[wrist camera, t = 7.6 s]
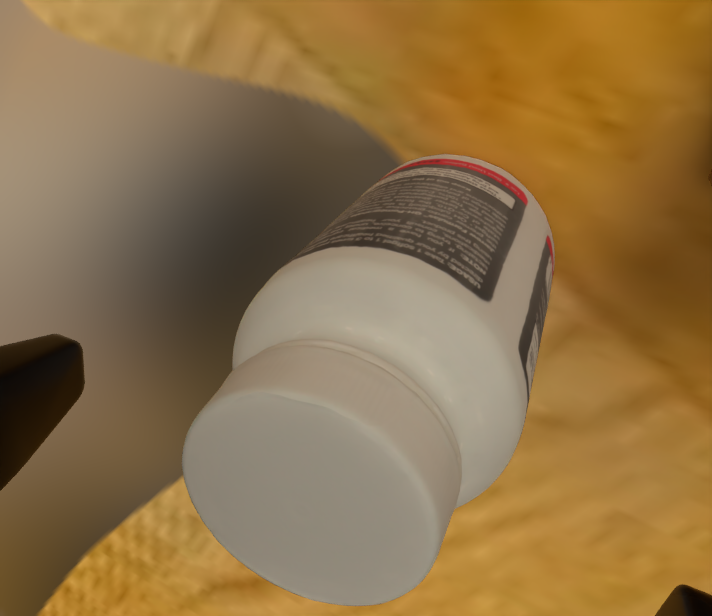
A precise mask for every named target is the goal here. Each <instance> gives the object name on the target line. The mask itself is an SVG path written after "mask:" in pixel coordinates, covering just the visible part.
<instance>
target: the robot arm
mask: <svg viewBox="0 0 712 616" xmlns="http://www.w3.org/2000/svg"><path fill="white" fill-rule="evenodd" d="M84 384H85V378H84V363H83V349H82V347H81V345H80V343H78V342H77V341H75V340H72V339H70V338H67V337H65V336H62V335H59V334H51V335H47V336H42V337H38V338H34V339H30V340H26V341H21V342H17V343H12V344H8V345H4V346H0V491H1V490H2V489H3V488H4V487H5V486H6V485H7V484H8V482H9V481H10V480H11V479H12V478H13V477H14V476H15V475H16V474H17V473H18V472H19V471H20V469H21V468H22V467H23V466H24V465H25V464H26V463H27V461H28V460H29V459H30V458H31V456H32V455H33V454H34V453H35V451H36V450H37V449H38V448H39V447H40V445H41V444H42V443H43V442H44V441H45V439H46V438H47V437H48V436H49V434H50V433H51V432H52V431H53V430H54V428H55V427H56V426H57V425H58V423H59V422H60V421H61V420H62V418H63V417H64V416H65V415H66V414H67V412H68V411H69V410H70V409H71V407H72V406H73V405H74V403H75V402H76V401H77V400H78V399H79V397H80V395H81V394H82V392H83V389H84ZM655 616H712V595H710V594H708V593H705V592H703V591H700V590H698V589H695V588H693V587H690V586H688V585H679V586H677V587H676V588H675V589H674V590H673V591H672V592H671V594H670V595H669V597H668V598H667V599H666V601H665V602H664V604H663V605H662V606H661V608H660V609H659V611H658V612H657V613H656V615H655Z"/></svg>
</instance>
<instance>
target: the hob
mask: <svg viewBox="0 0 712 616" xmlns="http://www.w3.org/2000/svg"><path fill="white" fill-rule="evenodd" d="M709 181H710V183H711V186H712V170H711V172H710V174H709Z"/></svg>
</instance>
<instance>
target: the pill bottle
mask: <svg viewBox="0 0 712 616" xmlns="http://www.w3.org/2000/svg"><path fill="white" fill-rule="evenodd" d="M554 261H555V252H554V242H553V237H552V232H551V229H550V226H549V224H548V221H547V218H546V215H545V213H544V212H543V210H542V209H541V207H540V205H539V203H538V202H537V201H536V199H535V198H534V197H533V195H532V194H531V193H530V192H529V191H528V190H527V189H526V188H525V186H524V185H522V184H521V183H520V182H519V181H518V180H517V179H516V178H514V177H513V176H512V175H511V174H510V173H508V172H506V171H505V170H503V169H502V168H500V167H497V166H495V165H492V164H490V163H487V162H485V161H482V160H480V159H476V158H472V157H468V156H460V155H451V154H440V155H433V156H426V157H421V158H418V159H414V160H411V161H408V162H406V163H405V164H403V165H401V166H399V167H397V168H396V169H394V170H392V171H391V172H389V173H388V174H387V175H385V176H384V177H383V178H382V179H381V180H379V181H378V182H377V183H376V184H374V185H373V186H372V187H370V188H369V189H368V190H367V191H366V192H365V193H364V194H363V195H362V196H361V197H359V198H358V199H357V200H356V201H355V202H354V203H353V204H352V205H350V206H349V207H348V208H347V209H346V210H345V211H344V212H343V213H342V214H341V215H339V216H338V217H337V218H336V219H335V220H334V221H333V222H332V223H331V224H330V225H328V226H327V227H326V228H325V229H324V230H323V232H322V233H321V234H320V235H318V236H317V237H316V238H315V239H314V240H313V241H312V242H310V243H309V244H308V245H307V246H306V247H305V248H304V249H302V250H301V251H300V252H299V253H298V254H297V255H296V256H294V257H293V258H292V259H291V260H290V261H288V262H287V263H286V264H285V265H284V266H283V267H282V268H280V269H279V270H278V271H277V272H276V273H275V274H274V275H273V276H272V277H271V278H270V279H269V280H268V281H267V283H266V284H265V285H264V286H263V288H262V289H261V290H260V291H259V292H258V293H257V295H256V296H255V297H254V299H253V300H252V302H251V303H250V305H249V307H248V308H247V310H246V311H245V313H244V316H243V318H242V320H241V322H240V325H239V329H238V331H237V334H236V339H235V344H234V350H233V371H232V372H231V373H230V375H229V376H228V377H227V379H226V380H225V382H224V383H223V385H222V386H221V388H220V389H219V390H218V391H217V392H216V394H215V395H214V396H213V397H212V398H211V399H210V401H209V402H208V403H207V404H206V405H205V407H203V409H202V410H201V411H200V413H199V414H198V415H197V417H196V418H195V420H194V421H193V423H192V425H191V427H190V428H189V431H188V433H187V436H186V439H185V443H184V448H183V453H182V468H183V475H184V480H185V484H186V487H187V490H188V493H189V495H190V498H191V500H192V503H193V505H194V506H195V509H196V511H197V513H198V514H199V515H200V517H201V519H202V521H203V522H204V524H205V525H206V526H207V527H208V529H209V530H210V531H211V532H212V534H213V536H214V537H215V538H216V539H217V541H218V542H219V543H220V544H221V545H222V546H223V547H224V548H225V549H227V550H228V551H229V552H230V553H231V554H232V555H233V556H234V557H235V558H236V559H237V560H239V561H240V562H242V563H243V564H244V565H245V566H246V567H247V568H249V569H250V570H252V571H253V572H255V573H256V574H258V575H259V576H261V577H262V578H264V579H266V580H267V581H269V582H271V583H273V584H275V585H277V586H279V587H281V588H283V589H285V590H287V591H289V592H291V593H294V594H297V595H299V596H302V597H305V598H308V599H311V600H314V601H320V602H325V603H330V604H337V605H346V606H366V605H376V604H382V603H385V602H388V601H391V600H394V599H396V598H398V597H401V596H403V595H404V594H406V593H407V592H409V591H411V590H412V589H414V588H415V587H416V586H417V585H418V584H419V583H420V582H421V581H422V580H423V579H424V578H425V577H426V575H427V574H428V573H429V571H430V570H431V568H432V566H433V564H434V562H435V560H436V558H437V556H438V553H439V550H440V547H441V545H442V542H443V539H444V536H445V533H446V530H447V527H448V525H449V522H450V519H451V516H452V514H453V511H454V509H455V508H457V507H460V506H462V505H464V504H466V503H468V502H469V501H471V500H472V499H474V498H476V497H477V496H478V495H480V494H481V493H482V492H484V491H485V490H486V489H487V488H489V487H490V485H491V484H492V483H493V482H494V481H495V480H496V479H497V478H498V477H499V475H500V474H501V473H502V472H503V470H504V469H505V467H506V466H507V464H508V463H509V461H510V460H511V457H512V455H513V453H514V451H515V449H516V447H517V444H518V441H519V439H520V436H521V433H522V430H523V426H524V422H525V418H526V412H527V407H528V402H529V397H530V391H531V386H532V381H533V376H534V371H535V366H536V361H537V357H538V352H539V347H540V342H541V336H542V332H543V327H544V321H545V316H546V312H547V307H548V302H549V296H550V290H551V284H552V278H553V272H554Z"/></svg>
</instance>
